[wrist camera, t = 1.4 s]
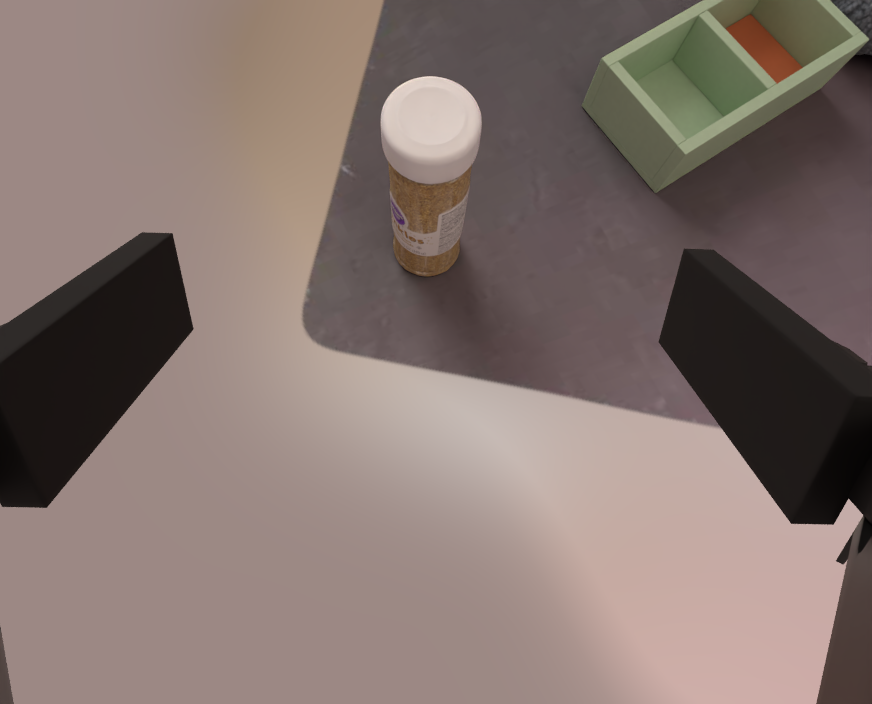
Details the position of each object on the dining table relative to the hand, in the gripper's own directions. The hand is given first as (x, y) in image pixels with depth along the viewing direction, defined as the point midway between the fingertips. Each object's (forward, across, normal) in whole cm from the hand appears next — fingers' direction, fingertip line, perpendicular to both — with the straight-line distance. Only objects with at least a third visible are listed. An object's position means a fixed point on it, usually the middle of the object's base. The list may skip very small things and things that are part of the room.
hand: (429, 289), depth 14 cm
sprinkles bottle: (+22, 0, -7) cm, 23 cm away
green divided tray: (+31, +20, +2) cm, 37 cm away
